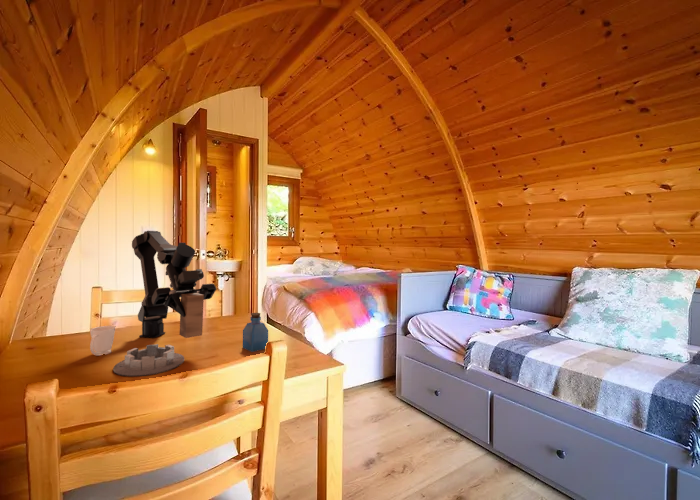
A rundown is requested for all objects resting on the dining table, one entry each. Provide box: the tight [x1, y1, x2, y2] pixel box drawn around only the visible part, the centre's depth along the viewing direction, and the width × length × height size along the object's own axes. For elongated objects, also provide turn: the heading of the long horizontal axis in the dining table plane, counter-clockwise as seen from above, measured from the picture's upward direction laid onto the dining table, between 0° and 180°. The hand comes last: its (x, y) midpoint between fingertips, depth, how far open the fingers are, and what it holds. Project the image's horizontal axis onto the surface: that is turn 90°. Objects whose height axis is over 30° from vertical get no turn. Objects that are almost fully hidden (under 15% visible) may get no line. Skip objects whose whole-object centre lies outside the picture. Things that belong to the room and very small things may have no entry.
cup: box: [89, 325, 116, 357], centre depth 107 cm, size 7×10×8 cm
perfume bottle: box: [242, 312, 269, 353], centre depth 116 cm, size 6×6×12 cm
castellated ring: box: [113, 343, 185, 378], centre depth 99 cm, size 18×18×4 cm
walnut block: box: [179, 293, 205, 339], centre depth 107 cm, size 5×5×13 cm
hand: (193, 314), depth 106 cm, fingers closed on walnut block, 5 cm apart
